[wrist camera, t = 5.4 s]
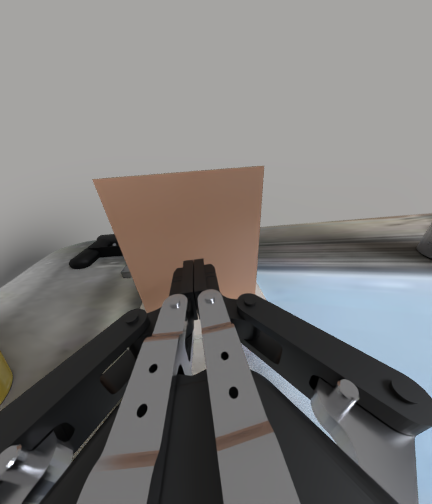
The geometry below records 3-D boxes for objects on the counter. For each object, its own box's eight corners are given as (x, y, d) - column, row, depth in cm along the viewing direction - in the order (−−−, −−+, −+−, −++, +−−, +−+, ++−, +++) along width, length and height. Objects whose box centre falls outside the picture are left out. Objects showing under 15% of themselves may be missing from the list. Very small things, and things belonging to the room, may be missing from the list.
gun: (166, 265, 24) (182, 225, 38) (41, 273, 25) (101, 231, 38) (170, 280, 26) (185, 237, 40) (54, 288, 26) (107, 243, 40)
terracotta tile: (247, 288, 20) (252, 166, 14) (254, 303, 18) (264, 165, 11) (154, 301, 19) (110, 177, 13) (149, 318, 17) (92, 179, 10)
